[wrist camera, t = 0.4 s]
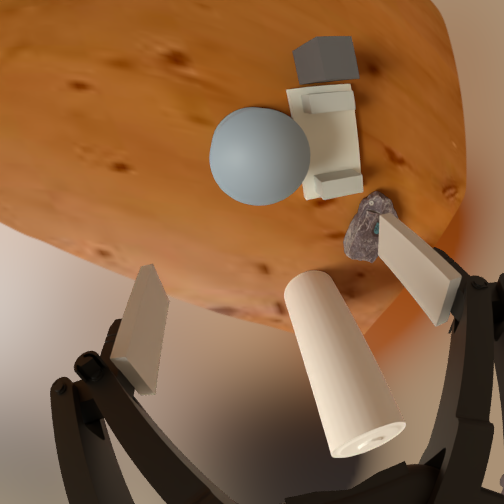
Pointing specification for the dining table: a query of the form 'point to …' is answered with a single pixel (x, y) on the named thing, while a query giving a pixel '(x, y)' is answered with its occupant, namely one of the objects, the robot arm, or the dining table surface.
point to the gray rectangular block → (326, 60)
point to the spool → (259, 155)
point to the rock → (367, 227)
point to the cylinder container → (340, 368)
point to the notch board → (328, 139)
